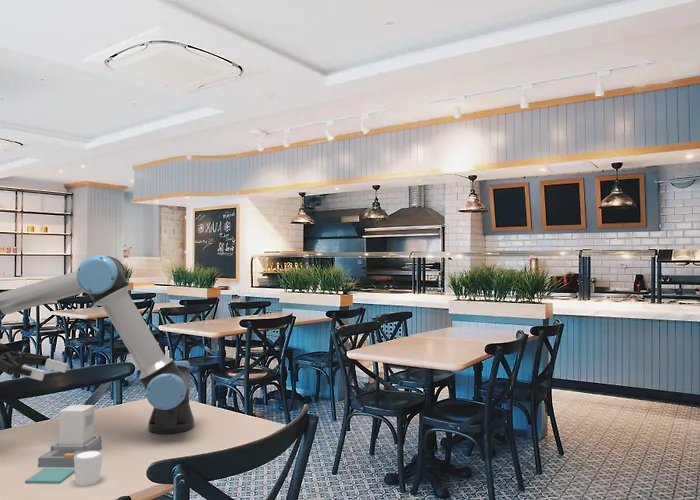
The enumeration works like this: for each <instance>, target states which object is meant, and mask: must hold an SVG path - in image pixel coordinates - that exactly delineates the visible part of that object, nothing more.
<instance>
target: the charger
mask: <svg viewBox="0 0 700 500" xmlns="http://www.w3.org/2000/svg"><path fill="white" fill-rule="evenodd" d="M95 407H96V406H95V404H70V405H69V406H67V407H65V408H62V409H60V410H59V413H58V414H59V416H58V417H59V419H58V423H59V424H58V442H59V446H84V445H86V444H87V443H89V442H90V441H92V440H93V439H94V436H95Z"/></svg>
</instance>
